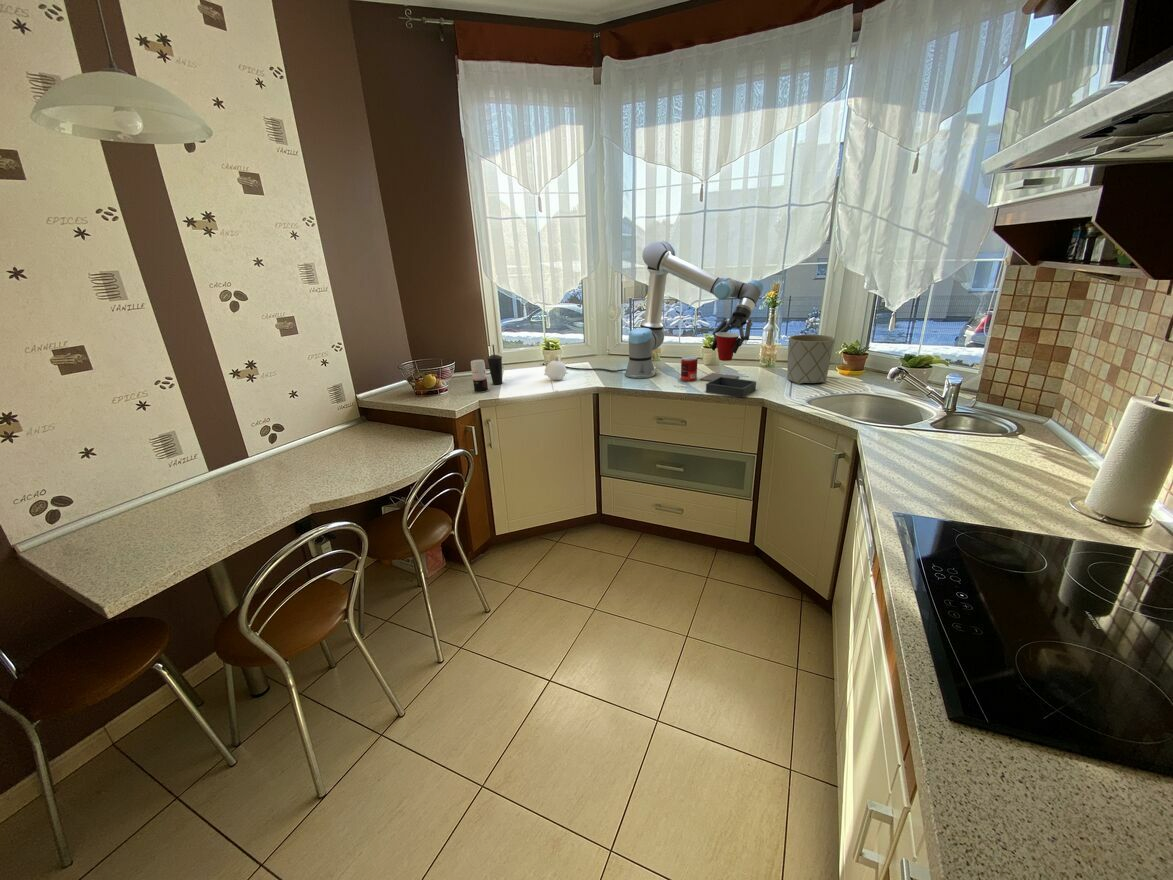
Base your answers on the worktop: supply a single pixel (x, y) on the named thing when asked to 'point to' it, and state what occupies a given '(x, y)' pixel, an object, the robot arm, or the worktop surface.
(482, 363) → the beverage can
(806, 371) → the planter
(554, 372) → the ornament
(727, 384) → the dark grey tray
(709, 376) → the grey square plate
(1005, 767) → the worktop surface
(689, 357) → the canned food
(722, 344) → the plastic cup
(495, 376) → the drinking cup
